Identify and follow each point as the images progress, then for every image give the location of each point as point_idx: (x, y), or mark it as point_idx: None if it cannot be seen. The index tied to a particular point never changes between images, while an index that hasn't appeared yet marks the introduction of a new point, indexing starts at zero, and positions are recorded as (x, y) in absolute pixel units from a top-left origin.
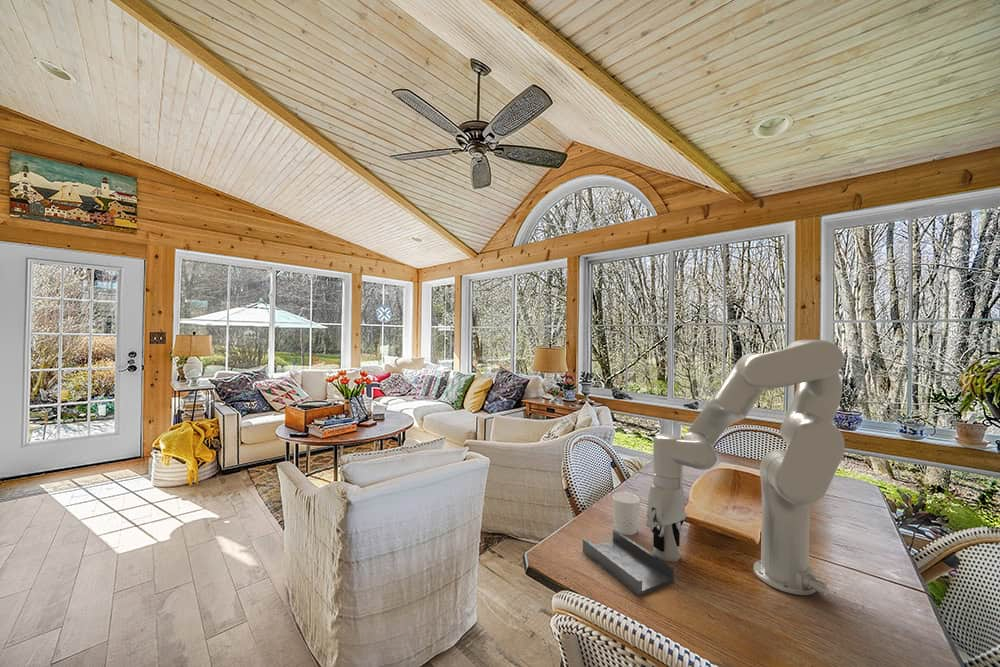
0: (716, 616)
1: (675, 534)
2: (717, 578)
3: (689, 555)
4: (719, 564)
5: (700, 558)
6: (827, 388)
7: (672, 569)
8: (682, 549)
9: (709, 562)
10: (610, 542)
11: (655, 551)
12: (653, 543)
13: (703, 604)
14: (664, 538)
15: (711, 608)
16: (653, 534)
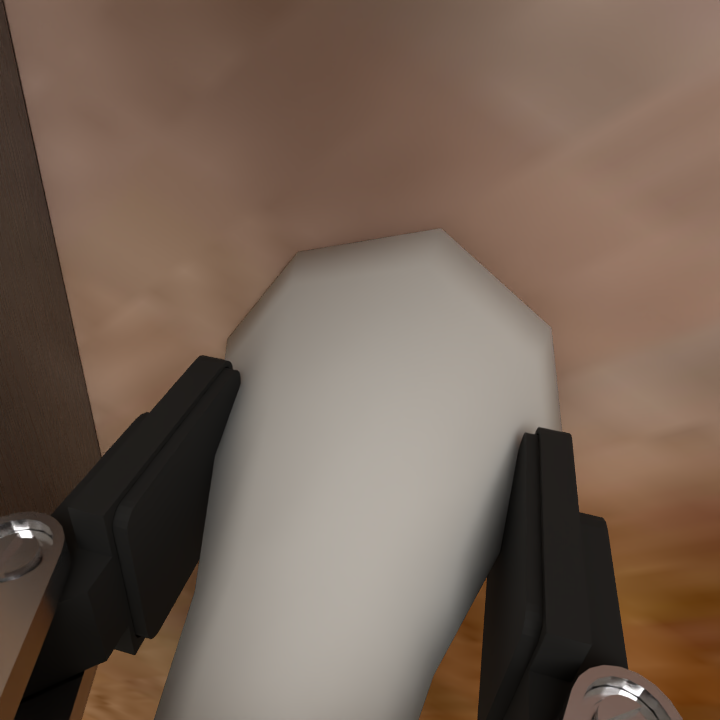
0: (126, 715)
1: (487, 670)
2: (440, 705)
3: (617, 530)
4: (674, 705)
5: (648, 602)
6: None
7: None
8: (706, 448)
9: (637, 656)
10: None
11: (238, 348)
12: (187, 374)
13: (134, 678)
14: (159, 625)
15: (148, 701)
16: (99, 470)
